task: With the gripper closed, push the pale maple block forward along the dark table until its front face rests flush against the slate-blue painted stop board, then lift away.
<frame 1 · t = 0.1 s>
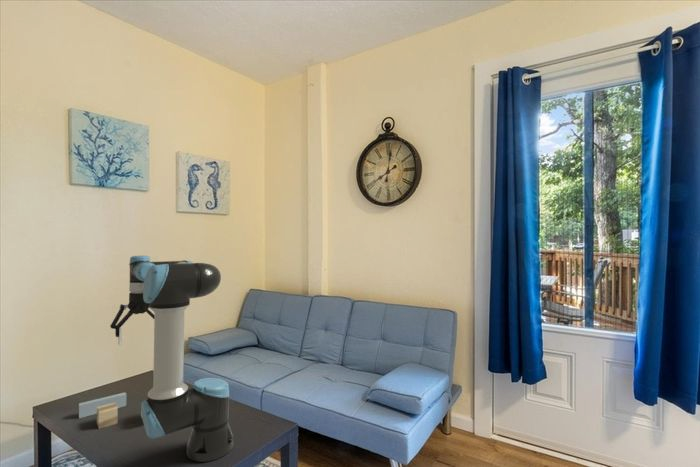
hand: (138, 341, 150), 28 cm above the table, fingers open, 13 cm apart
board: (103, 410, 146), on the table
mug: (156, 420, 139), on the table
block: (107, 423, 137), on the table
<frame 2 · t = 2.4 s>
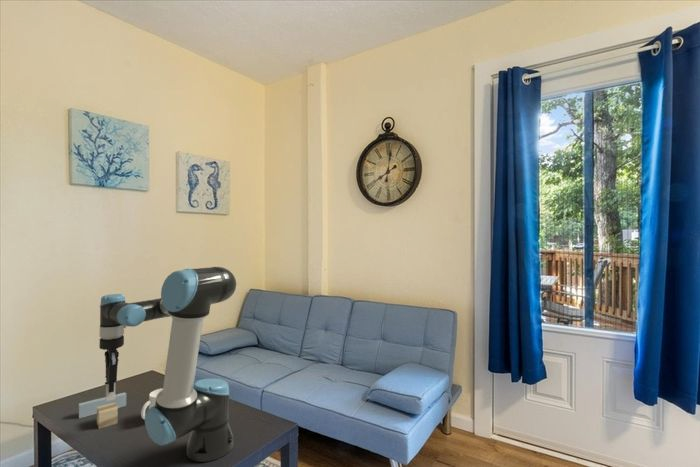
hand: (110, 399, 130), 12 cm above the table, fingers closed
nothing on the table moved.
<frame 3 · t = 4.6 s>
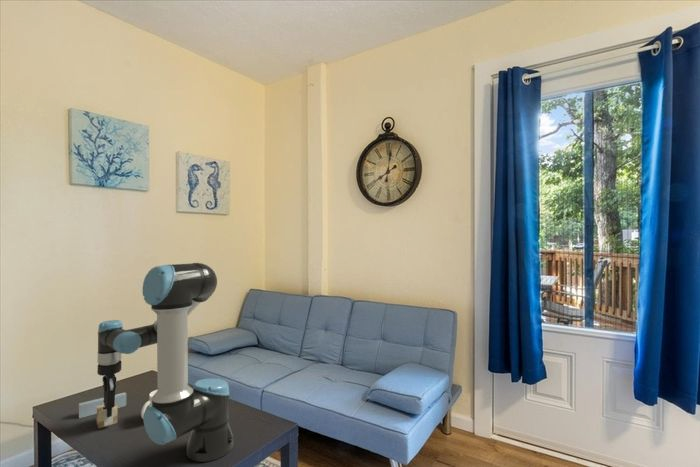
hand: (108, 423, 133), 2 cm above the table, fingers closed
block: (106, 422, 137), on the table, touching gripper
everything else where it was.
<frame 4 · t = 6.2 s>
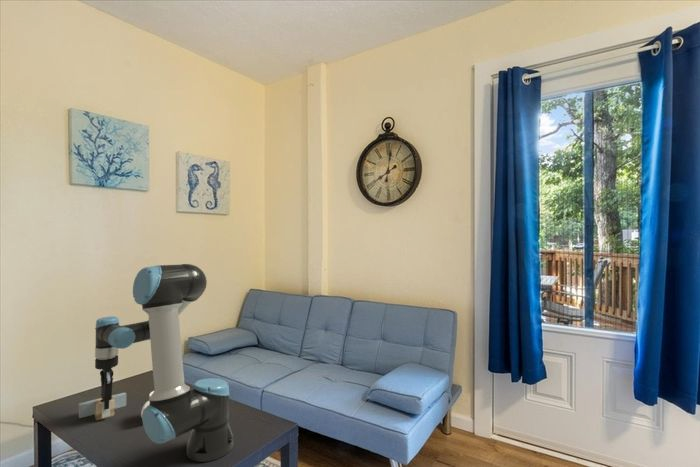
hand: (106, 416, 139), 2 cm above the table, fingers closed
block: (104, 414, 142), on the table, touching board, gripper
everything else where it was.
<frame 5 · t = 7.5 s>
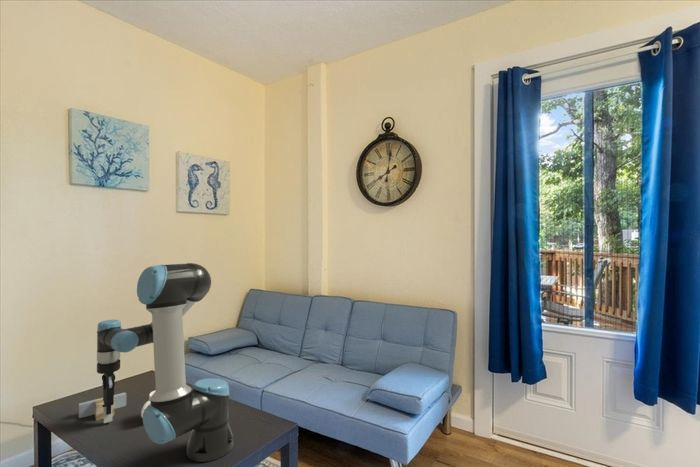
hand: (107, 421, 136), 1 cm above the table, fingers closed
block: (104, 415, 142), on the table
everything else where it was.
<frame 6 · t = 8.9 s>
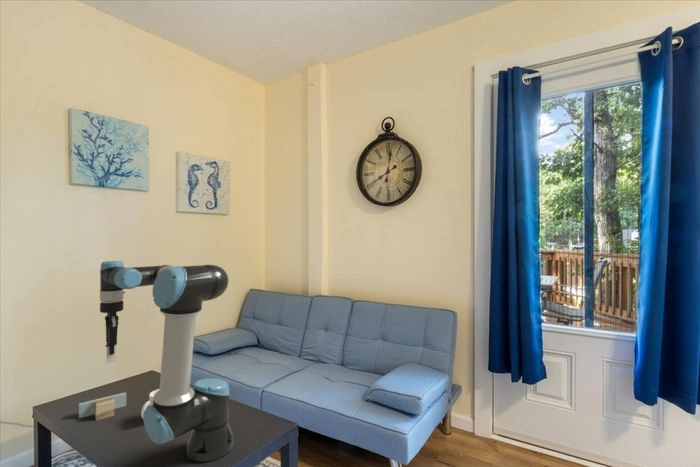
hand: (111, 362, 135), 24 cm above the table, fingers closed
nothing on the table moved.
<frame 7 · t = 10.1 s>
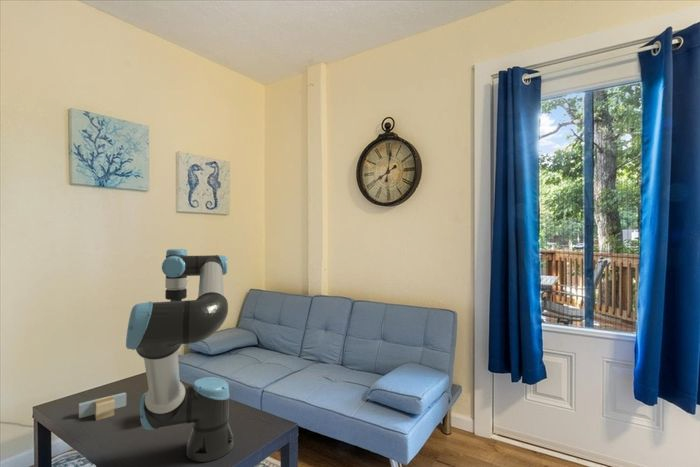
hand: (175, 348, 137), 29 cm above the table, fingers closed
nothing on the table moved.
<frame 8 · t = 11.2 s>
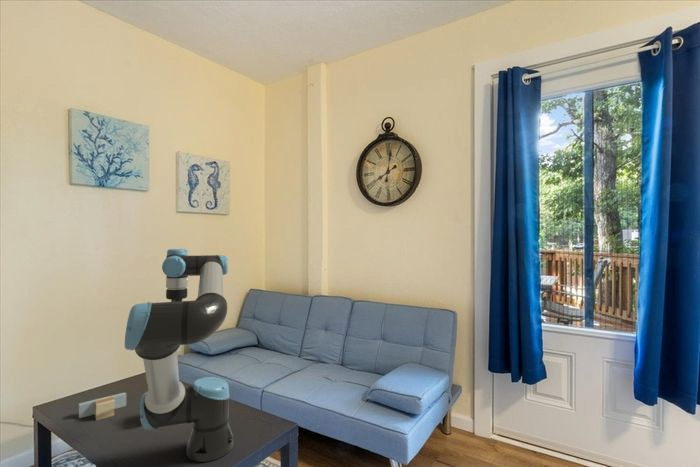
hand: (175, 348, 137), 29 cm above the table, fingers closed
nothing on the table moved.
at the end: block inside the target area on the table beside the board (0.5 cm from its centre), on the table; block tilted 0°; the gripper is holding nothing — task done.
